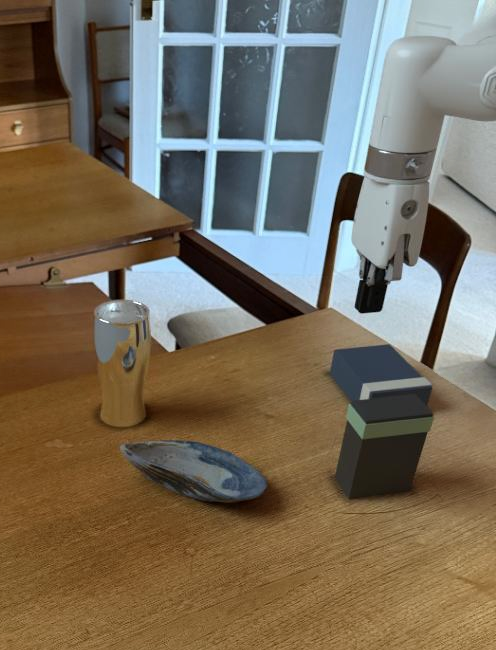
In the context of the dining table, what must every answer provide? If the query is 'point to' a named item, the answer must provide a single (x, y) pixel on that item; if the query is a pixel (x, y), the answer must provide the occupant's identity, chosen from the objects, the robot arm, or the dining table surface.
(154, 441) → the seashell
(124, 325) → the beer glass
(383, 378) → the navy blue box
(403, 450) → the dark grey rectangular block
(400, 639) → the dining table surface
